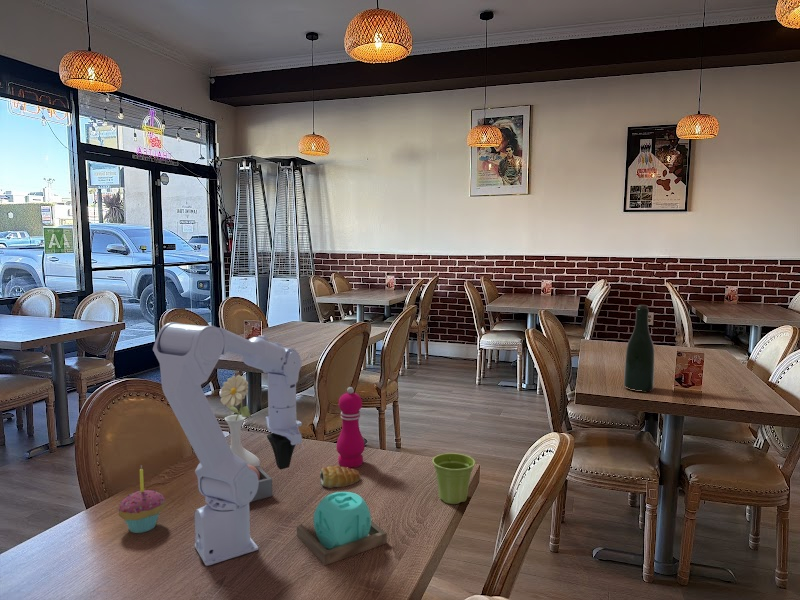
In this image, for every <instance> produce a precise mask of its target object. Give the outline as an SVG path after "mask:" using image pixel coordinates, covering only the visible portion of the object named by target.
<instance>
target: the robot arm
mask: <svg viewBox="0 0 800 600" xmlns="http://www.w3.org/2000/svg"><path fill="white" fill-rule="evenodd" d="M268 339H269V338H268V336H266V335H258V336H253V337H250V338H249V339H247V338H245V337H243V336H241V335H240V334H239V335H238V334H237V333H234V332H232V331H230V330H227V329H226V328H222V327H217V326H216V325H206V326H205V325H197V324H196V325H195V324H188V323H180V322H177V321H176V322H175V321H172V322H168V323H165V324H164V325H163V326H161V328H160V329H159V331H158V334H157V336H156V339H155V341H154V344H153V347H152V351H153V352H154V355H155V357H156V359H157V361H158V363H159V370H160V380H161V381H160V382H161V388H162V389H161V390H162V392H163V395H164V396H165V399H166V400H167V403H168V404H169V406H170V408H171V410H172V412H173V413H174V415H175V417H176V419H177V421H178V423H179V424H180V427H181V429H182V431H183V433H184V434H185V437H186V438H187V440H188V442H189V444H190V446H191V448H192V450H193V452H194V454H195V455H196V457H197V459H198V461H199V463H198V465H197V466H196V468H195V470H194V474H195V475H196V477H197V478H196V479H197V487H198V492H199V493H200V494H201V495H202V496H204V500H205V501H204V502H205V503H207V504H205V505H204V506H201V507H200V508H196V509H195V512H194V536H195V540H194V542H195V543H194V548H195V550H196V551H197V553H198V555H199V556H200V558H201V560H202V562H203V563H204V565H205V566H207V567H208V566H211V565H214V564H218V563H221V562H224V561H227V560H230V559H234V558H237V557H240V556H243V555H246V554H249V553H252V552H255V551H258V549H259V547H258V545H257V543H255V542H254V540H253V539H252V538H251V522H250V521H251V520H250V517H251V516H250V503H252V502H253V501H252V499H253V498H254V497H255V495H256V493H257V490H258V484H259V482H258V475H257V473H256V472H255V471H254V470H251V469H250V468H249V467H248V465H247V463H246V462H245V461H244V460H242V459H241V458H239V457H238V456H237V455H235V454H234V453H233V452H232V450H231V448H230V446H231V445H230V444H229V442H228V440H227V438H226V436H225V434H224V432H223V430H222V428H221V425H220V423H219V422H218V420H217V417H216V414H215V413H214V410H213V409H212V407H211V405H210V402H209V400H208V399H207V397H206V395H205V392H204V390H203V388H202V385H203V384H204V383H206V382H208V380H209V378H210V376H211V374H212V372H213V371H214V369H215V366H216V365H217V364H218V361H219V360H220V358H221V356H223V355H226V353H228V354H231V355H236V356H240V357H241V361H242V363H244V364H245V365H246V366H248V367H251V368H255V369H258V370H260V371H262V372H263V373H264V374H267V402H268V406H267V408H268V409H267V410H268V411H267V413H268V416H265V426H267V431H268V432H270V433H268V434H267V435H266V438H267V440H268V442H269V443H270V446H271V448H272V451H273V454H274V458H275V463H276V466H277V469H279V470H284V469H288V468H290V465H291V460H292V457H293V453H294V451H295V447H296V445H300V444H302V443H303V442H302V441H303V440H302V433H301V432H300V429H299V427H301V426H302V425H303V424H302V422H301V421H300V420H297V384H298V381H299V378H300V377H299V376H300V375H299V374H300V371H301V369H302V364H303V359H302V358H301V355H300V353H299V352H298V351H297V349H294V348H290V347H283V346H282V343H280V342H271V341H269V340H268ZM251 501H252V502H251Z"/></svg>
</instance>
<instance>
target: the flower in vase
mask: <svg viewBox="0 0 800 600" xmlns="http://www.w3.org/2000/svg"><path fill="white" fill-rule="evenodd" d="M222 385H223V386H221V390H220V393H219V397H221V398H220V403H222V405H223V406H225V407H226V408H228V409H229V410H231V411H232V412H234V413H235V414H232V415H228V416H225V417H224V421H225V422H226V424H227V425H228V428H229V433H230V445H229V446H230V448H231V450H232V452H233V453H234V454H235V455H237V456H238V457H239V458H241V459H242V460H244V461H245V462H246V463H247V465H252V466H259V467H261V460H260V459H259V457H257V456H256V455H255V454H254V453H252V452H250V451H249V450H247V449H246V448H245V447H243V445H242V441H241V434H242V433H241V431H242V425H243V423H244V422H245V420H246V418H249V417H251V415H252V414H251V413H250V409H249V407H248V406H247V405H246V406H243V400H244V399H245V398H246V395H247V394H248V392H249V390H248V389H249V386H248V385H249V382H248V381H247V380H246V378H245V377H243V376H241V375H240V374H238V375H237V376H235V375H232V376H231V377H229V378H227V381H224V382H223V384H222ZM238 405H240V408H239V410H238V408H236V407H237V406H238Z"/></svg>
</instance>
